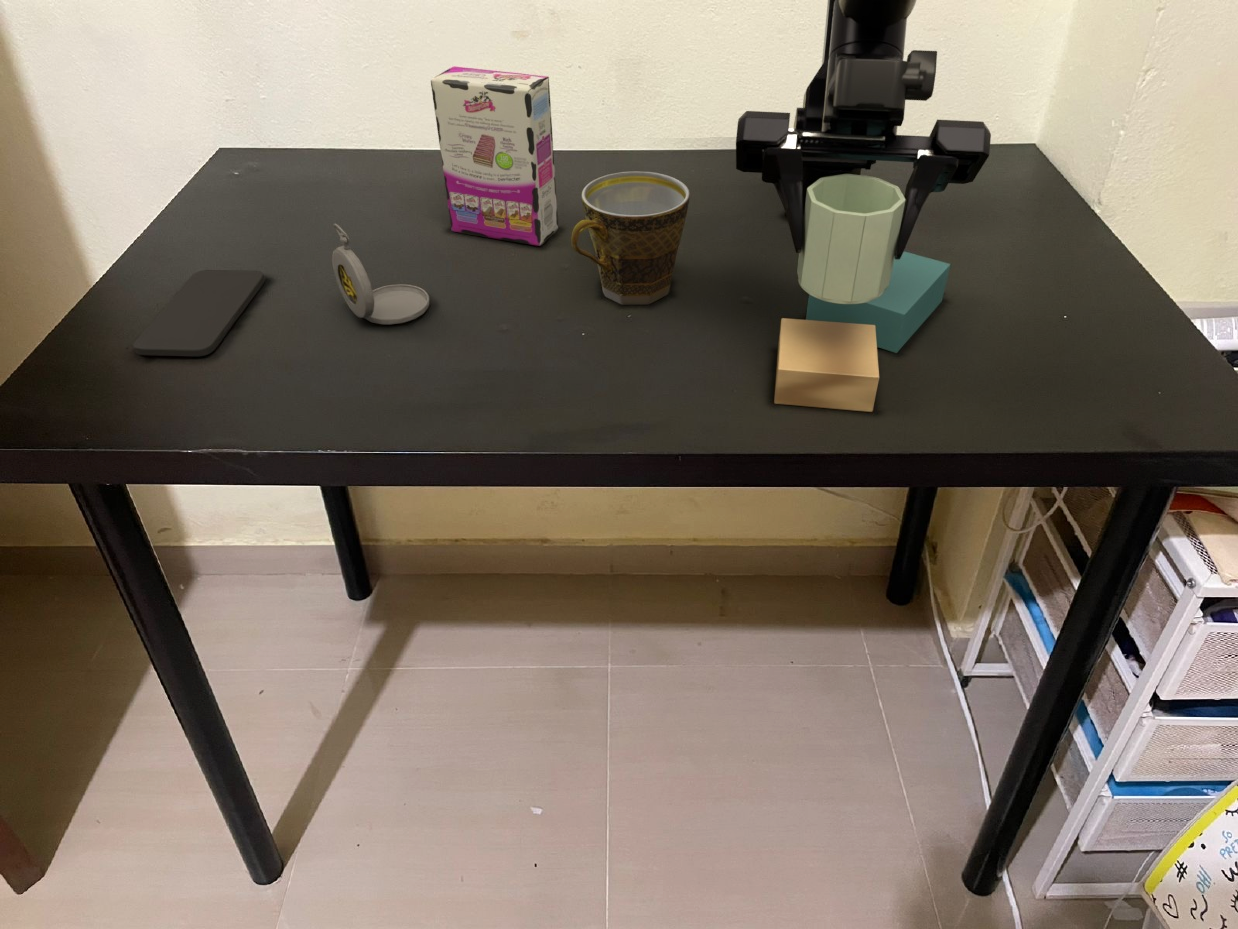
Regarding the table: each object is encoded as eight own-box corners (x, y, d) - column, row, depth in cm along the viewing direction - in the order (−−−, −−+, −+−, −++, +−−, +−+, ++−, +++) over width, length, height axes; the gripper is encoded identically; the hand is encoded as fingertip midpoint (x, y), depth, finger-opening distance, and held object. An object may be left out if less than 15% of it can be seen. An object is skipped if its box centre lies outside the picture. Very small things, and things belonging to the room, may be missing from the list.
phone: (267, 270, 95) (208, 350, 84) (269, 277, 96) (210, 358, 84) (196, 269, 96) (127, 348, 84) (198, 276, 96) (130, 356, 85)
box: (805, 323, 88) (810, 285, 85) (855, 275, 95) (861, 239, 92) (896, 353, 84) (904, 314, 81) (942, 301, 91) (950, 263, 88)
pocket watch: (442, 298, 92) (427, 202, 86) (399, 343, 86) (380, 242, 80) (369, 286, 94) (349, 191, 88) (322, 328, 88) (297, 229, 82)
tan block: (773, 404, 78) (778, 368, 76) (777, 351, 84) (781, 317, 82) (872, 412, 77) (879, 377, 75) (869, 358, 83) (875, 324, 81)
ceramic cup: (635, 255, 99) (635, 162, 92) (707, 288, 93) (712, 191, 87) (541, 300, 92) (534, 203, 85) (613, 339, 86) (611, 238, 80)
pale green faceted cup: (781, 288, 75) (791, 199, 70) (822, 252, 80) (834, 166, 75) (862, 314, 72) (879, 224, 67) (901, 275, 76) (919, 187, 72)
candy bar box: (560, 228, 104) (552, 74, 93) (540, 248, 100) (529, 90, 90) (471, 213, 107) (453, 62, 96) (448, 231, 103) (427, 77, 93)
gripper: (746, -3, 67) (725, 210, 66) (1019, 6, 65) (1002, 227, 64) (745, 75, 78) (727, 258, 77) (979, 84, 76) (963, 274, 75)
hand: (847, 254), depth 73 cm, fingers closed on pale green faceted cup, 7 cm apart
